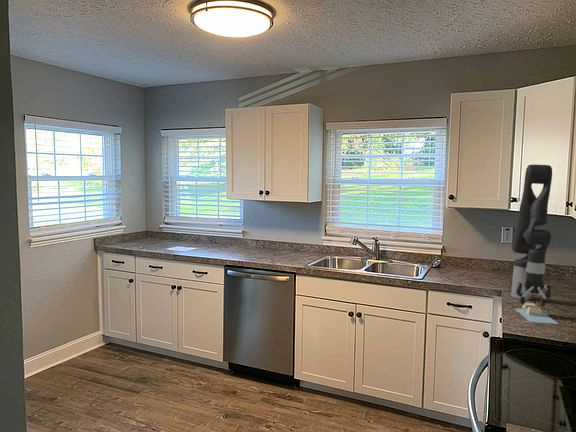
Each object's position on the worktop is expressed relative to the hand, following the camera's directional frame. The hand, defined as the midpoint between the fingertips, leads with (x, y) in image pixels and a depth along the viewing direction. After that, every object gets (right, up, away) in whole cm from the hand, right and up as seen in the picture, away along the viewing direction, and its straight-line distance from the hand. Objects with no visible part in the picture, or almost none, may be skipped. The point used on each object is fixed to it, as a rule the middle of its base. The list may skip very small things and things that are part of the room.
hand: (532, 305), depth 209 cm
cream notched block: (0, -4, +1) cm, 4 cm away
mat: (-1, -4, -4) cm, 6 cm away
